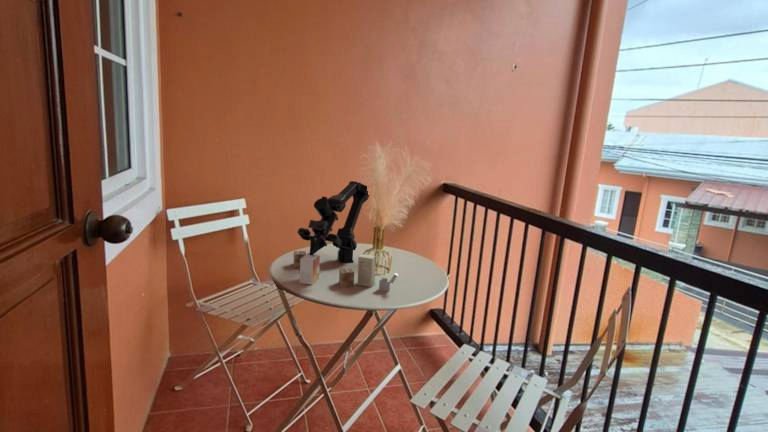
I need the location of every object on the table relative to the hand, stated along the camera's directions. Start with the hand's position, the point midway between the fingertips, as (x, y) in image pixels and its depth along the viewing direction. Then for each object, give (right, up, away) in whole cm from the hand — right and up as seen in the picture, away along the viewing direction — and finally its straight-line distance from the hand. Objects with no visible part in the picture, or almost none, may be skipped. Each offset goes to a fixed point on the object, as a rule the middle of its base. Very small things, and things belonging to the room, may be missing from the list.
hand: (310, 254), depth 160 cm
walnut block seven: (-8, -7, +18) cm, 21 cm away
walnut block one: (+14, -12, +1) cm, 19 cm away
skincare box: (+22, -13, +3) cm, 26 cm away
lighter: (+31, -14, -2) cm, 35 cm away
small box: (-1, -11, +3) cm, 11 cm away
